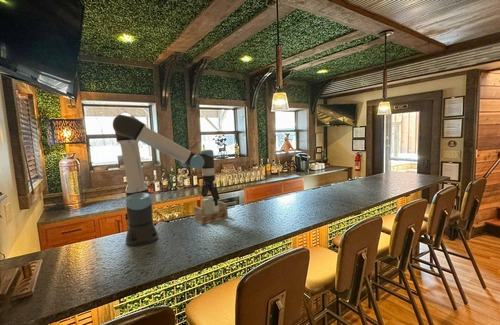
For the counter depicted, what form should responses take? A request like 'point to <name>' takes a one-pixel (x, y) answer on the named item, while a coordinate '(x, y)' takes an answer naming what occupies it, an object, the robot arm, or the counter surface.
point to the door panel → (208, 207)
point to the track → (210, 218)
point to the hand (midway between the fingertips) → (210, 208)
